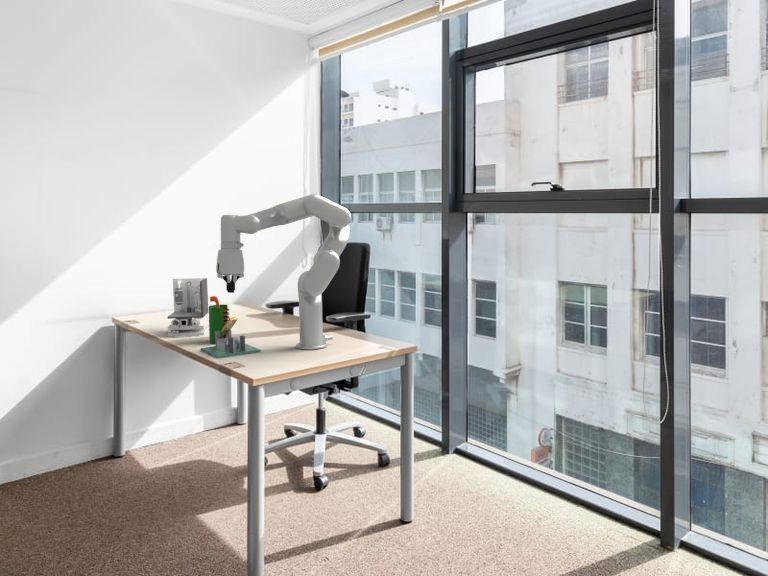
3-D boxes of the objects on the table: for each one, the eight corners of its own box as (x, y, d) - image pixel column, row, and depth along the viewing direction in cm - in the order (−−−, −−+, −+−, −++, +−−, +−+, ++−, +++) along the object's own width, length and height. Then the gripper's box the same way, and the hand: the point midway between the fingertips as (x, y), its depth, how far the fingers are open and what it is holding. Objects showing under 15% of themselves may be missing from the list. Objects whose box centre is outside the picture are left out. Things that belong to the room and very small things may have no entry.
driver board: (242, 344, 258) (241, 328, 257) (260, 352, 244) (260, 334, 243) (200, 350, 248) (200, 333, 247) (217, 358, 233) (216, 340, 232)
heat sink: (231, 344, 254) (231, 328, 254) (243, 349, 245) (243, 333, 244) (213, 346, 250) (212, 331, 249) (224, 351, 240) (224, 335, 239)
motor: (231, 343, 261) (229, 297, 259) (209, 344, 259) (208, 298, 256) (230, 338, 271) (228, 294, 269) (209, 340, 268) (207, 295, 266)
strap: (227, 334, 251) (225, 330, 252) (237, 319, 241) (236, 314, 242) (220, 335, 250) (218, 331, 250) (230, 319, 239) (229, 315, 240)
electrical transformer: (209, 329, 294) (207, 278, 291) (202, 337, 275) (200, 282, 272) (175, 330, 292) (173, 279, 289) (166, 338, 273) (164, 283, 270)
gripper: (244, 245, 247) (244, 290, 249) (208, 245, 238) (209, 292, 240) (252, 246, 241) (252, 292, 243) (215, 246, 232) (215, 294, 234)
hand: (230, 292), depth 242 cm, fingers closed
